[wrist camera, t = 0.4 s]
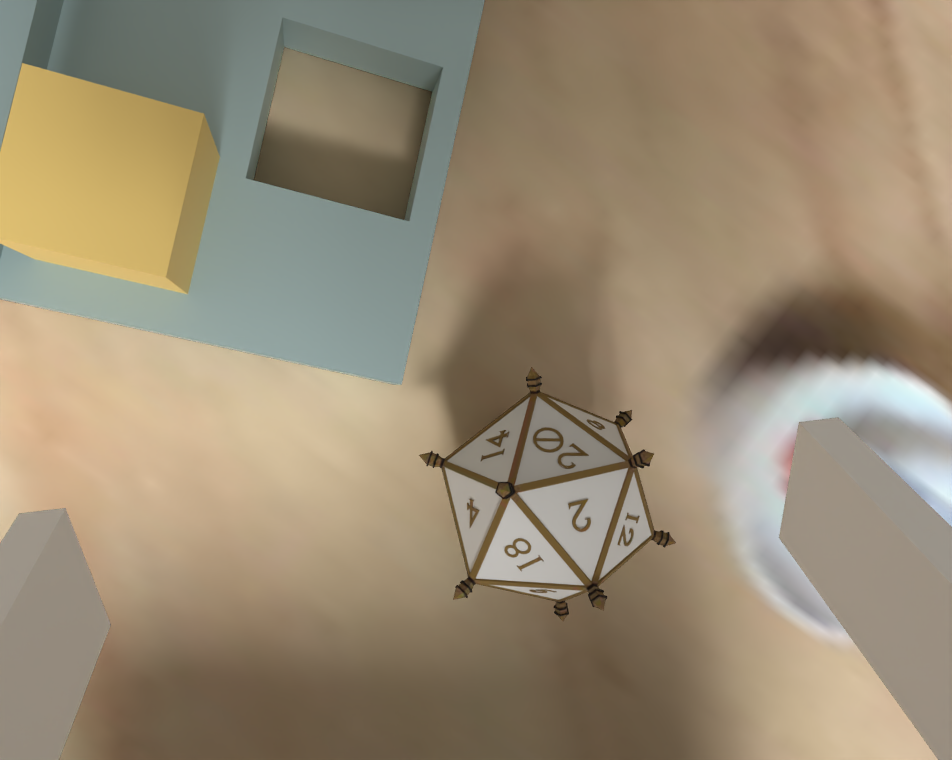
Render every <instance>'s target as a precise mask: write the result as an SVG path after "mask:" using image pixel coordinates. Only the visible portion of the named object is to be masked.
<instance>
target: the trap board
mask: <svg viewBox="0 0 952 760" xmlns="http://www.w3.org/2000/svg"><path fill="white" fill-rule="evenodd" d="M484 1H485V0H0V151H1V146H2V142H3V138H4V134H5V130H6V126H7V122H8V118H9V114H10V110H11V106H12V102H13V98H14V94H15V90H16V86H17V82H18V78H19V74H20V70H21V66H22V63H24V64H28V65H31V66H35V67H39V68H42V69H46V70H49V71H53V72H57V73H60V74H64V75H67V76H71V77H74V78H78V79H82V80H85V81H89V82H92V83H96V84H100V85H103V86H107V87H110V88H114V89H118V90H121V91H125V92H128V93H132V94H136V95H139V96H143V97H146V98H150V99H154V100H157V101H161V102H164V103H168V104H171V105H175V106H179V107H182V108H186V109H189V110H193V111H197V112H200V113H204V115H205V118H206V120H207V123H208V126H209V128H210V131H211V134H212V137H213V139H214V142H215V145H216V148H217V150H218V153H219V156H220V159H219V163H218V167H217V172H216V176H215V180H214V184H213V189H212V193H211V197H210V202H209V206H208V210H207V215H206V219H205V223H204V228H203V232H202V236H201V240H200V245H199V249H198V253H197V258H196V262H195V266H194V271H193V275H192V279H191V284H190V288H189V292H188V294H184V293H180V292H175V291H171V290H166V289H162V288H158V287H153V286H149V285H145V284H140V283H136V282H131V281H127V280H123V279H118V278H114V277H110V276H105V275H101V274H97V273H92V272H88V271H83V270H79V269H75V268H70V267H66V266H62V265H57V264H53V263H48V262H44V261H40V260H35V259H33V258H31V257H28V256H26V255H24V254H22V253H20V252H18V251H15V250H13V249H11V248H9V247H7V246H5V245H2V244H0V299H1V300H6V301H10V302H15V303H20V304H24V305H29V306H34V307H38V308H43V309H47V310H52V311H57V312H61V313H66V314H70V315H75V316H80V317H84V318H89V319H94V320H98V321H103V322H107V323H112V324H117V325H121V326H126V327H130V328H135V329H140V330H144V331H149V332H154V333H158V334H163V335H167V336H172V337H177V338H181V339H186V340H190V341H195V342H200V343H204V344H209V345H214V346H218V347H223V348H227V349H232V350H237V351H241V352H246V353H250V354H255V355H260V356H264V357H269V358H273V359H278V360H283V361H287V362H292V363H297V364H301V365H306V366H310V367H315V368H320V369H324V370H329V371H333V372H338V373H343V374H347V375H352V376H357V377H361V378H366V379H370V380H375V381H380V382H384V383H389V384H393V385H402V380H403V376H404V371H405V366H406V362H407V357H408V352H409V348H410V343H411V339H412V334H413V329H414V325H415V320H416V316H417V311H418V306H419V302H420V297H421V292H422V288H423V283H424V279H425V274H426V269H427V265H428V260H429V255H430V251H431V246H432V242H433V237H434V232H435V228H436V223H437V219H438V214H439V209H440V205H441V200H442V195H443V191H444V186H445V182H446V177H447V172H448V168H449V163H450V159H451V154H452V149H453V145H454V140H455V135H456V131H457V126H458V122H459V117H460V112H461V108H462V103H463V98H464V94H465V89H466V85H467V80H468V75H469V71H470V66H471V62H472V57H473V52H474V48H475V43H476V38H477V34H478V29H479V25H480V20H481V15H482V11H483V6H484ZM284 47H286V48H289V49H293V50H296V51H299V52H303V53H306V54H309V55H312V56H316V57H319V58H322V59H326V60H329V61H332V62H336V63H339V64H342V65H346V66H349V67H352V68H355V69H359V70H362V71H365V72H369V73H372V74H375V75H379V76H382V77H385V78H388V79H392V80H395V81H398V82H402V83H405V84H408V85H412V86H415V87H418V88H422V89H425V90H428V91H431V92H432V95H431V100H430V104H429V109H428V114H427V118H426V123H425V127H424V132H423V136H422V141H421V146H420V150H419V155H418V159H417V164H416V168H415V173H414V178H413V182H412V187H411V191H410V196H409V200H408V205H407V210H406V214H405V219H404V220H402V219H398V218H394V217H391V216H387V215H383V214H379V213H376V212H372V211H368V210H364V209H360V208H357V207H353V206H349V205H345V204H341V203H338V202H334V201H330V200H326V199H323V198H319V197H315V196H311V195H307V194H304V193H300V192H296V191H292V190H288V189H285V188H281V187H277V186H273V185H269V184H266V183H262V182H258V181H254V176H255V172H256V167H257V163H258V159H259V154H260V150H261V146H262V141H263V137H264V133H265V128H266V124H267V120H268V115H269V111H270V106H271V102H272V98H273V93H274V89H275V85H276V80H277V76H278V72H279V67H280V63H281V59H282V54H283V50H284Z"/></svg>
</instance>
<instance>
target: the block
mask: <svg viewBox="0 0 952 760" xmlns="http://www.w3.org/2000/svg"><path fill="white" fill-rule="evenodd" d="M219 159H220V156H219V153H218V150H217V148H216V145H215V142H214V139H213V137H212V134H211V131H210V128H209V126H208V123H207V120H206V118H205V115H204V113H200V112H197V111H193V110H189V109H186V108H182V107H179V106H175V105H171V104H168V103H164V102H161V101H157V100H154V99H150V98H146V97H143V96H139V95H136V94H132V93H128V92H125V91H121V90H118V89H114V88H110V87H107V86H103V85H100V84H96V83H92V82H89V81H85V80H82V79H78V78H74V77H71V76H67V75H64V74H60V73H57V72H53V71H49V70H46V69H42V68H39V67H35V66H31V65H28V64H24V63H22V66H21V70H20V74H19V78H18V82H17V86H16V90H15V94H14V98H13V102H12V106H11V110H10V114H9V118H8V122H7V126H6V130H5V134H4V138H3V142H2V146H1V151H0V244H2V245H5V246H7V247H9V248H11V249H13V250H15V251H18V252H20V253H22V254H24V255H26V256H28V257H31V258H33V259H35V260H40V261H44V262H48V263H53V264H57V265H62V266H66V267H70V268H75V269H79V270H83V271H88V272H92V273H97V274H101V275H105V276H110V277H114V278H118V279H123V280H127V281H131V282H136V283H140V284H145V285H149V286H153V287H158V288H162V289H166V290H171V291H175V292H180V293H184V294H188V292H189V288H190V284H191V279H192V275H193V271H194V266H195V262H196V258H197V253H198V249H199V245H200V240H201V236H202V232H203V228H204V223H205V219H206V215H207V210H208V206H209V202H210V197H211V193H212V189H213V184H214V180H215V176H216V172H217V167H218V163H219Z"/></svg>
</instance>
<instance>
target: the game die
mask: <svg viewBox="0 0 952 760" xmlns="http://www.w3.org/2000/svg"><path fill="white" fill-rule="evenodd" d="M540 378H542V377H541V376H539V375H538V374H537V373H536V372H535V370H534V369H533V368H532V367H531V370H530V372H529V375H528V377H526V381H528V383H527V387H529V389H530V393H529V394H528V395H526V396H525V397H524V398H522V399H521V400H520V401H519V402H517V403H516V404H515V405H513V406H512V407H511V408H510V409H508V410H507V411H506V412H504V413H503V414H502V415H501V416H499V417H498V418H497V419H495V420H494V421H493V422H491V423H490V424H489V425H488V426H486V427H485V428H484V429H482V430H481V431H480V432H479V433H477V434H476V435H475V436H473V437H472V438H471V439H470V440H468V441H467V442H466V443H464V444H463V445H462V446H461V447H459V448H458V449H457V450H455V451H454V452H453V453H452V454H450V455H449V456H448V457H446V458H445V459H444V458H441V457H440V456H439V454H438V453H437V454H434V453H432V452H433V451H431V452H430V453H426V454H422V455H419V456H420V457H421V458H422V459H423V460H424V462H425V463H426V464H427V465H426V466H428V465H430V466H433V468H434V467H440V468H442V472H443V476H444V480H445V484H446V488H447V492H448V496H449V500H450V504H451V508H452V513H453V517H454V521H455V525H456V529H457V533H458V537H459V541H460V545H461V549H462V553H463V557H464V561H465V565H466V570H467V574H468V578H467V579H466V580H464V581H463V580H462V581H461V582H460V583H461V584H460V585H459V586H458V585H457V586H456V591H455V595H454V598H453V600H454V599H459V598H463V597H466V598H467V597H468V596H467V595H468V594H469V593H470V592H472V588H473V586H474V585H475V584H479V585H483V586H488V587H493V588H497V589H502V590H507V591H511V592H516V593H520V594H525V595H530V596H534V597H539V598H544V599H548V600H553V601H556V604H555V606H554V608H555V612H554V613H555V614H556V615H558V616H559V617H560V618H561V620H562V621H564V619H565V617H566V616H567V615H568V614H569V612H568V606H567V603H566V602H565V600H567V599H570V598H573V597H575V596H578V595H581V594H583V593H586V592H589V594H588V596H589V599H590V601H591V603H592V606H593V607H597V608H599V609H601V610H603V611H604V605H605V600H606V599H607V596H604V594H603V592H604V591H603V590H600V589H599V588H598V586H599V585H600V584H602V583H603V582H604V581H605V580H606V579H607V578H608V577H610V576H611V575H612V574H613V573H614V572H615V571H616V570H617V569H619V568H620V567H621V566H622V565H623V564H624V563H625V562H626V561H628V560H629V559H630V558H631V557H632V556H633V555H634V554H636V553H637V552H638V551H639V550H640V549H641V548H642V547H643V546H645V545H646V544H647V543H648V542H649V541H650V540H654V541H655V542H657V544H658V545H659V544H661V545H663V547H665V546H667V545H671V544H674V543H676V542H675V541H674V540H673V538H672V537H671V536H670V534H669V532H667V533H665V532H663V531H660V532H658V531H655V530H654V528H653V524H652V520H651V517H650V513H649V510H648V506H647V502H646V499H645V495H644V491H643V488H642V484H641V481H640V477H639V473H638V470H637V467H640V468H644V466H650V461H651V459H652V457H653V455H654V454H653V453H650V452H646V451H645V450H642V451H641V452H638V453H636V454H635V455H632V453H631V451H630V448H629V446H628V444H627V441H626V439H625V437H624V434H623V432H622V430H621V427H623V426H624V427H625V426H626V425H627V424H628V423H629V422H630V421H631V420H632V419H631V414H632V410H631V411H625V412H621V411H620V412H619V413H620V414H619V415H618V416H616V420H615V422H612V421H610V420H607V419H605V418H602V417H600V416H597V415H595V414H593V413H590V412H588V411H585V410H583V409H580V408H578V407H576V406H573V405H571V404H568V403H566V402H563V401H561V400H559V399H556V398H554V397H551V396H549V395H547V394H544V393H542V392H540V390H539V389H540V385H542V383H540Z"/></svg>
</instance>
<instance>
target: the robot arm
mask: <svg viewBox="0 0 952 760" xmlns="http://www.w3.org/2000/svg"><path fill="white" fill-rule="evenodd" d="M779 538H780V540H781V541H782V543H783V544H784V545H785V547H786V548H787V550H788V551H789V552H790V554H791V555H792V557H793V558H794V559H795V561H796V562H797V564H798V565H799V566H800V568H801V569H802V570H803V572H804V573H805V575H806V576H807V577H808V579H809V580H810V582H811V583H812V584H813V586H814V587H815V589H816V590H817V591H818V593H819V594H820V596H821V597H822V598H823V600H824V601H825V603H826V604H827V605H828V607H829V608H830V610H831V611H832V612H833V614H834V615H835V616H836V618H837V619H838V621H839V622H840V623H841V625H842V626H843V628H844V629H845V630H846V632H847V633H848V635H849V636H850V637H851V639H852V640H853V642H854V643H855V644H856V646H857V647H858V649H859V650H860V651H861V653H862V654H863V656H864V657H865V658H866V660H867V661H868V662H869V664H870V665H871V667H872V668H873V669H874V671H875V672H876V674H877V675H878V676H879V678H880V679H881V681H882V682H883V683H884V685H885V686H886V688H887V689H888V690H889V692H890V693H891V695H892V696H893V697H894V699H895V700H896V701H897V703H898V704H899V706H900V707H901V708H902V710H903V711H904V713H905V714H906V715H907V717H908V718H909V720H910V721H911V722H912V724H913V725H914V727H915V728H916V729H917V731H918V732H919V734H920V735H921V736H922V738H923V739H924V741H925V742H926V743H927V745H928V746H929V747H930V749H931V750H932V752H933V753H934V754H935V756H936V757H937V759H938V760H952V527H951V526H950V525H949V524H948V523H947V522H946V521H945V520H944V519H943V518H942V517H941V516H940V515H939V514H938V513H937V512H936V511H935V510H934V509H933V508H932V507H931V506H930V505H929V504H927V503H926V502H925V501H924V500H923V499H922V498H921V497H920V496H919V495H918V494H917V493H916V492H915V491H914V490H913V489H912V488H911V487H910V486H909V485H908V484H907V483H906V482H905V481H904V480H903V479H902V478H901V477H899V476H898V475H897V474H896V473H895V472H894V471H893V470H892V469H891V468H890V467H889V466H888V465H887V464H886V463H885V462H884V461H883V460H882V459H881V458H880V457H879V456H878V455H877V454H876V453H875V452H874V451H873V450H872V449H870V448H869V447H868V446H867V445H866V444H865V443H864V442H863V441H862V440H861V439H860V438H859V437H858V436H857V435H856V434H855V433H854V432H853V431H852V430H851V429H850V428H849V427H848V426H847V425H846V424H845V423H844V422H842V421H841V420H840V419H839V418H830V419H822V420H813V421H805V422H799V425H798V431H797V437H796V443H795V448H794V454H793V460H792V466H791V471H790V477H789V483H788V489H787V494H786V500H785V506H784V512H783V518H782V523H781V529H780V535H779ZM110 626H111V624H110V621H109V618H108V616H107V613H106V611H105V608H104V606H103V603H102V600H101V598H100V595H99V593H98V590H97V588H96V585H95V582H94V580H93V577H92V575H91V572H90V570H89V567H88V565H87V562H86V559H85V557H84V554H83V552H82V549H81V547H80V544H79V541H78V539H77V536H76V534H75V531H74V529H73V526H72V524H71V521H70V518H69V516H68V513H67V511H66V508H62V509H54V510H45V511H37V512H28V513H19V514H18V516H17V517H16V519H15V521H14V522H13V524H12V525H11V527H10V529H9V530H8V532H7V533H6V535H5V537H4V538H3V540H2V541H1V543H0V760H59V759H60V756H61V753H62V751H63V748H64V746H65V743H66V740H67V738H68V735H69V733H70V730H71V727H72V725H73V722H74V720H75V717H76V714H77V712H78V709H79V706H80V704H81V701H82V699H83V696H84V693H85V691H86V688H87V686H88V683H89V680H90V678H91V675H92V673H93V670H94V667H95V665H96V662H97V660H98V657H99V654H100V652H101V649H102V646H103V644H104V641H105V639H106V636H107V633H108V631H109V628H110Z"/></svg>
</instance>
